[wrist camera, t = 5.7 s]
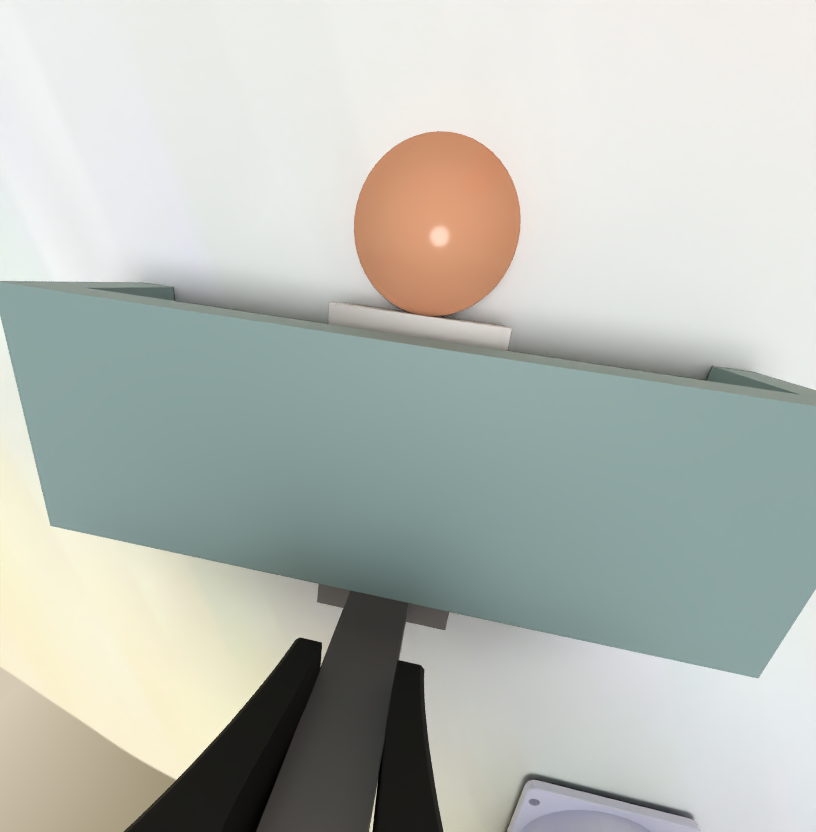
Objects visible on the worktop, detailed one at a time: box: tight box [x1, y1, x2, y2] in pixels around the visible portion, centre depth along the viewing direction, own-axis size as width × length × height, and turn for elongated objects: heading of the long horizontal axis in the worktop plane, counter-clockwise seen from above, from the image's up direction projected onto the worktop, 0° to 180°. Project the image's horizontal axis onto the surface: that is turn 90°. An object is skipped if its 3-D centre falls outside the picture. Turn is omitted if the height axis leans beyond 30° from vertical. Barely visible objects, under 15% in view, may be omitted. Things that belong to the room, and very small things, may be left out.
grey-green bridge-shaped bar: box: [0, 281, 816, 678], centre depth 11 cm, size 7×20×4 cm, turn 83°
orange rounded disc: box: [354, 131, 520, 316], centre depth 11 cm, size 4×4×2 cm
